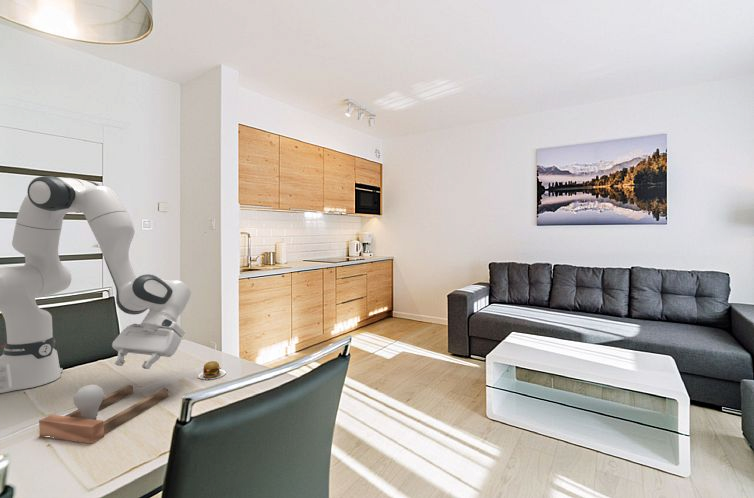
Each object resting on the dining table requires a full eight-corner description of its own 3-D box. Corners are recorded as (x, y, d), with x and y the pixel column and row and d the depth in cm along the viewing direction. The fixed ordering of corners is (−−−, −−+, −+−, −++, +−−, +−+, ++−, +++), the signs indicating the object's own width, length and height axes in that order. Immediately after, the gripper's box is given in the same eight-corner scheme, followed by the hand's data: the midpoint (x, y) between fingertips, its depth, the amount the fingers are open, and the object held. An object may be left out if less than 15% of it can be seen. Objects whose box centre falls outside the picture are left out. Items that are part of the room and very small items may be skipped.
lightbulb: (104, 419, 98) (103, 378, 98) (105, 428, 93) (103, 386, 93) (75, 426, 94) (73, 384, 94) (74, 437, 90) (72, 393, 89)
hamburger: (237, 372, 133) (237, 357, 133) (216, 385, 121) (216, 369, 121) (208, 369, 135) (208, 354, 135) (185, 382, 124) (184, 366, 123)
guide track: (127, 392, 114) (126, 379, 114) (170, 396, 111) (170, 383, 111) (39, 436, 90) (39, 420, 90) (92, 443, 87) (91, 427, 87)
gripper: (123, 318, 117) (95, 358, 108) (179, 323, 113) (154, 365, 104) (135, 328, 122) (109, 367, 113) (189, 333, 118) (166, 374, 109)
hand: (131, 366), depth 109 cm, fingers open, 8 cm apart
